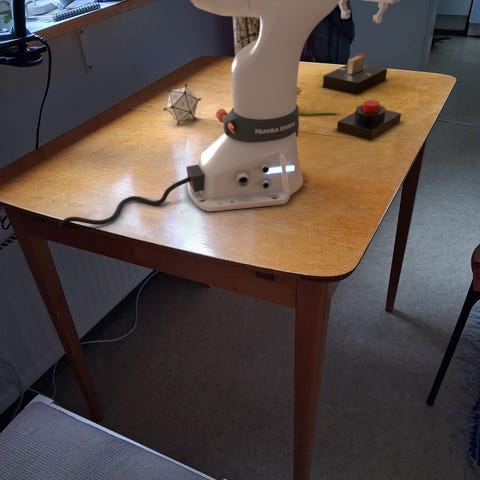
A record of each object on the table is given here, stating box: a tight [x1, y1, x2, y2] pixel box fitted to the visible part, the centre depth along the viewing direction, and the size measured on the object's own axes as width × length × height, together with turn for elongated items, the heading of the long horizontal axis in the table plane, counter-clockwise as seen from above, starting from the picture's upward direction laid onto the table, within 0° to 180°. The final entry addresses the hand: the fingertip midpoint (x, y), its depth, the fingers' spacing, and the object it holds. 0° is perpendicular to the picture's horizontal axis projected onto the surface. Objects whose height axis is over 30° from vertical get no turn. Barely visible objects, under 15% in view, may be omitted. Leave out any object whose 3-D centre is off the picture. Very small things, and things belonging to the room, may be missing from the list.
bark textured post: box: [232, 16, 260, 57], centre depth 107 cm, size 7×7×25 cm
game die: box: [162, 82, 202, 126], centre depth 117 cm, size 9×8×10 cm
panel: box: [322, 63, 388, 96], centre depth 131 cm, size 14×11×3 cm
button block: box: [336, 104, 402, 141], centre depth 109 cm, size 12×9×4 cm
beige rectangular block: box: [347, 53, 366, 75], centre depth 129 cm, size 6×2×4 cm, turn 136°
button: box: [362, 99, 381, 113], centre depth 107 cm, size 4×4×2 cm
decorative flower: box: [296, 86, 336, 116], centre depth 118 cm, size 8×6×15 cm
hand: (360, 20), depth 122 cm, fingers open, 8 cm apart
